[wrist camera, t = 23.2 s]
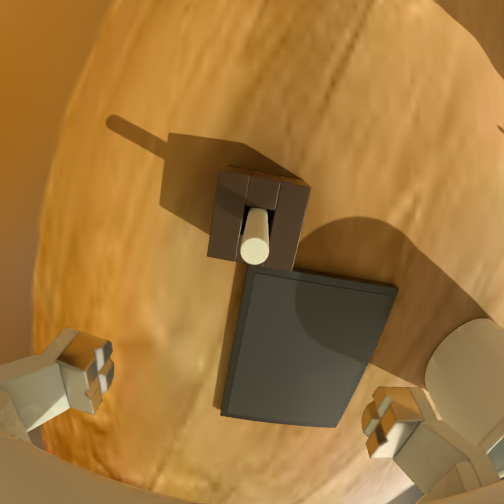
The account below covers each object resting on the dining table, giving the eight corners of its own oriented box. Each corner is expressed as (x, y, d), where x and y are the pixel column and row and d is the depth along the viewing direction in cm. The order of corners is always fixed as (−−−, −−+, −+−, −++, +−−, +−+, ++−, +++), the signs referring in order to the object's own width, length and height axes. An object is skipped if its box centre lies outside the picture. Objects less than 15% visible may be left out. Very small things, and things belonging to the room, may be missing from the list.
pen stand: (303, 180, 29) (311, 187, 25) (288, 252, 32) (292, 272, 27) (227, 165, 29) (219, 170, 24) (215, 239, 31) (206, 256, 27)
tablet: (395, 284, 32) (399, 289, 31) (334, 422, 40) (335, 428, 39) (249, 259, 32) (248, 263, 31) (220, 410, 39) (219, 416, 38)
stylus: (268, 199, 30) (271, 240, 18) (265, 215, 31) (266, 267, 18) (251, 196, 30) (242, 235, 18) (248, 212, 30) (238, 262, 18)
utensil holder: (434, 318, 34) (508, 417, 17) (515, 306, 33) (589, 376, 16) (408, 404, 38) (448, 500, 22) (485, 386, 38) (533, 460, 21)
